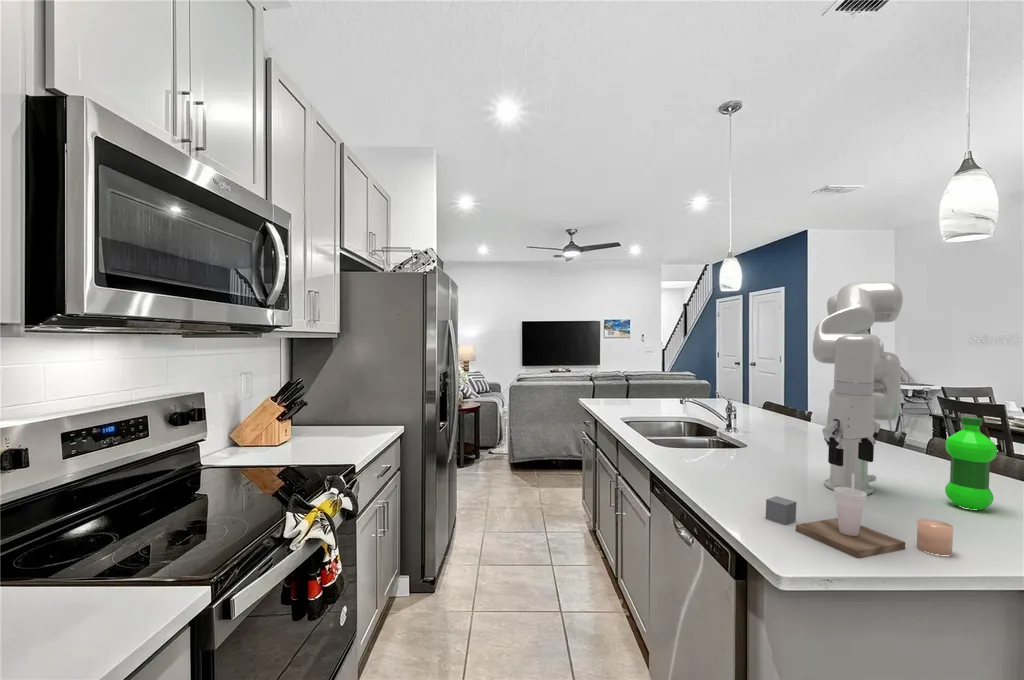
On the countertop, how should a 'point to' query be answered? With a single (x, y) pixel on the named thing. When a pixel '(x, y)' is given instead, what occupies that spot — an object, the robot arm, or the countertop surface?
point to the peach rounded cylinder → (934, 536)
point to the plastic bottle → (970, 466)
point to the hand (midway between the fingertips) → (850, 462)
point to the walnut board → (850, 538)
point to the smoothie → (849, 508)
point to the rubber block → (781, 510)
